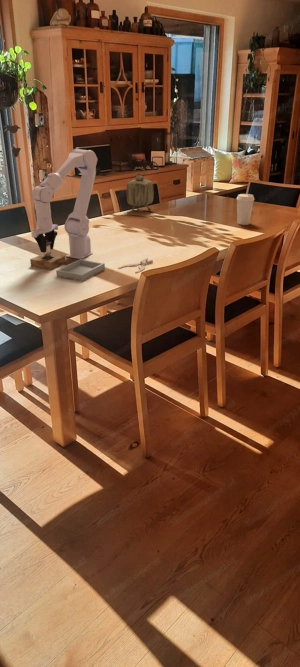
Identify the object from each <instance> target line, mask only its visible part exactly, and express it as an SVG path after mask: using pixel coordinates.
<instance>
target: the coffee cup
mask: <svg viewBox="0 0 300 667" xmlns="http://www.w3.org/2000/svg"><path fill="white" fill-rule="evenodd" d="M255 200H256V199H255V197H254V194H250V193H240V194H238V195H237V197H236V207H237V208H236V211H237V212H236V213H237V214H236V215H237V217H236V218H237V219H236V220H237V224H238V225H241V226H242V225H243V226H244V225H247V226H248V225H249V224H250V222H251V217H252V211H253V206H254V201H255Z"/></svg>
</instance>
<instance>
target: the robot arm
mask: <svg viewBox="0 0 300 667" xmlns="http://www.w3.org/2000/svg"><path fill="white" fill-rule="evenodd" d="M67 156H68V158H66V160H65V161H64V162H63V163H62V164H61V166H60V167H59V168H58V169H57V171H55V172H51V173H48V174H47V177H46V178H45V179H44V180H43V181H42V182H40V184H39V185H37V186H35V187H33V189H32V190H31V193H30V197H31V198H32V200H33V201H34V202H33V203H34V206H35V213H36V214H35V216H36V224H37V225H36V226H37V227H36V228H35V229H34V231H32V232H31V233H30V234H31V237H32V238H33V239H34V240H35V242H36V243H37V245H38V249H39V250H40V253H43V252H44V253H45V252H46V240H51V241H52V244H50V248H51V250H54V247H55V246H54V245H55V241H56V237H57V236H58V231H57V230H59V224H53V223H52V211H51V201H52V200H53V196H54V193H55V192H56V191H57V190H58V189H59V188H60V186H61V185H63V179H64V178H66V176H68V174H69V173H70V172H72V171H73V170H74V169H75V168H76V169H78V171H80V174H81V177H80V182H79V186H78V191H77V194H76V199H75V203H74V207H73V211H72V212H71V213H70V214H68V216H67V219H66V221H65V223H64V228H63V229H64V231H65V232H66V234H67V236H68V242H69V243H68V244H69V253H68V254H66V255H65V258H71V259H77V260H79V259H82V260H83V259H84V258H86V257H89V256H90V255H93V252H92V245H91V237H90V236H89V232H90V226H89V225H90V219H89V218H88V216H87V212H88V208H89V204H90V199H91V195H92V192H93V188H94V187H93V186H94V183H95V179H96V175H97V167H96V166H97V163H98V157H97V155H96V153H95V152H94V150H91V149H88V150H87V149H80V148H74V149H72V150H71V152H69V153H68V155H67ZM55 230H56V231H55ZM44 253H43V254H44Z"/></svg>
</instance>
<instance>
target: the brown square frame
mask: <svg viewBox="0 0 300 667" xmlns="http://www.w3.org/2000/svg"><path fill="white" fill-rule="evenodd" d="M64 264H66V255H65V256H64V255H60V254H53V253H51V259H49V260H46V259H44V253H42V254H40V255H37V256H35V257H31V258H30V267H32V268H38V269H44V270H50V271H51V270H53V269H55V268H58V267H60V266H63V265H64Z"/></svg>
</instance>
